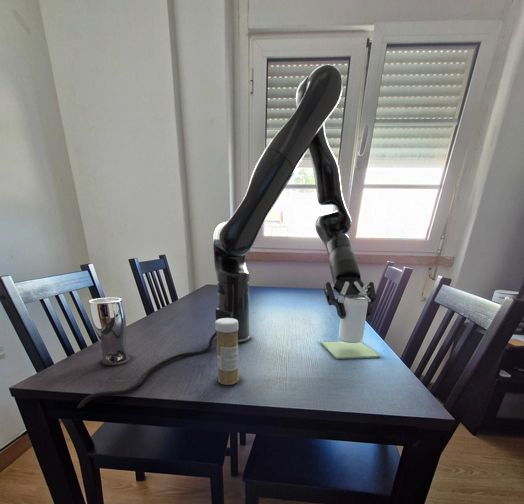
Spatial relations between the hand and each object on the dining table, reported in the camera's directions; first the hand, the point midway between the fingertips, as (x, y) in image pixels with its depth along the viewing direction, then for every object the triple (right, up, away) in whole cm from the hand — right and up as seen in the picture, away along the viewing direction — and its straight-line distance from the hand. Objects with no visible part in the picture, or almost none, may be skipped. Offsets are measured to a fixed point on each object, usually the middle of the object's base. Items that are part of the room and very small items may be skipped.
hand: (356, 316), depth 74 cm
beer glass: (-61, -12, -5) cm, 62 cm away
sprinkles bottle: (-32, -16, -14) cm, 38 cm away
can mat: (0, -9, +5) cm, 10 cm away
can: (0, -6, +4) cm, 7 cm away
